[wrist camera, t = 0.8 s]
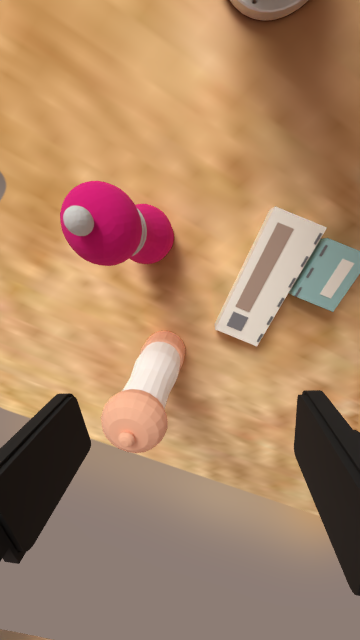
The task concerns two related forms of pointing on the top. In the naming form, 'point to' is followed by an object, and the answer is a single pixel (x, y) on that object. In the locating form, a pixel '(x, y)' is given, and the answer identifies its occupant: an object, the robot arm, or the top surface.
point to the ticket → (268, 274)
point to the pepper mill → (113, 226)
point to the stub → (327, 274)
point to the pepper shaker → (145, 396)
